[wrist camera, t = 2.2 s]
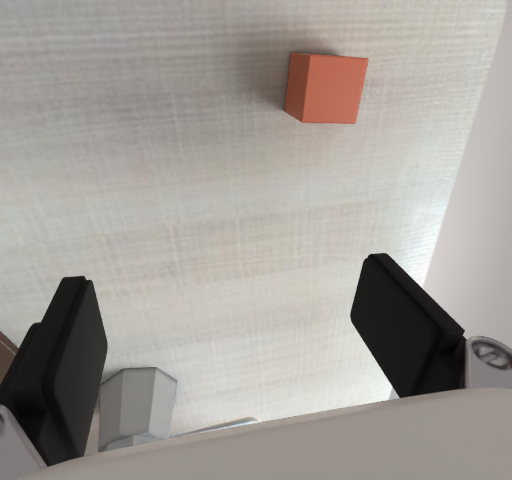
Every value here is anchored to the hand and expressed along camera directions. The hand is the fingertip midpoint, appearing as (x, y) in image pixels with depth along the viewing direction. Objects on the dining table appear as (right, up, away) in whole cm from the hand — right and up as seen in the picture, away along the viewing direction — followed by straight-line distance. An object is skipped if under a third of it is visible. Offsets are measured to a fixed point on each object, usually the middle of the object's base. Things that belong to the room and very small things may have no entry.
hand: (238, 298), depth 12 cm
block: (+5, +14, +13) cm, 20 cm away
